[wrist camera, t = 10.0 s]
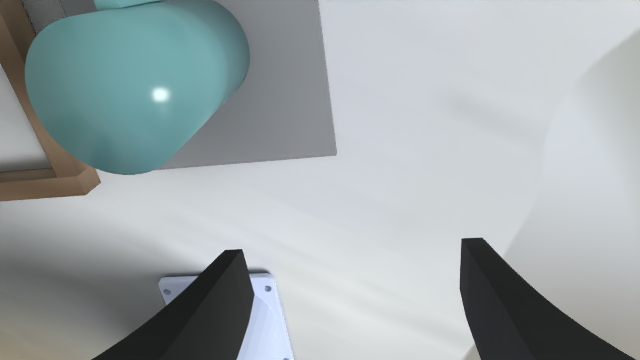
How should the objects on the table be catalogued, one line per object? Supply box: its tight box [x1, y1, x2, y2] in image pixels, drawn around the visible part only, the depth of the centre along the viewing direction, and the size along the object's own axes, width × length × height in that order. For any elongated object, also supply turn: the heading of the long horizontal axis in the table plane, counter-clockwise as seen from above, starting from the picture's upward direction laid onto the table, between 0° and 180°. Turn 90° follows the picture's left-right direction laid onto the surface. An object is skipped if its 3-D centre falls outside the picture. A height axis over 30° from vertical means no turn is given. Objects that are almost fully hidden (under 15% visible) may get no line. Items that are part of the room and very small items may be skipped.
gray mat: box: [60, 0, 337, 170], centre depth 20 cm, size 12×12×1 cm
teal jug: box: [25, 0, 250, 175], centre depth 15 cm, size 7×5×8 cm
